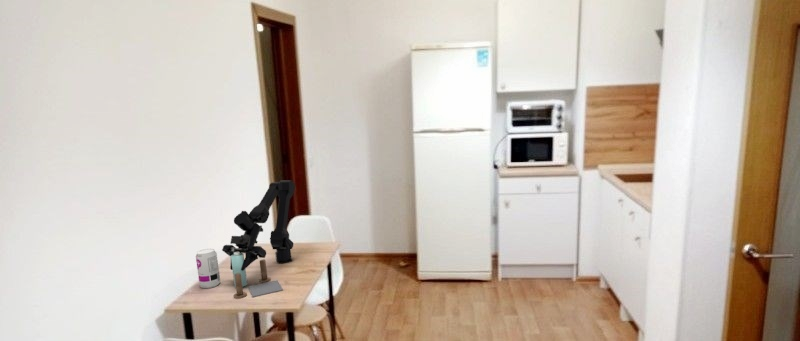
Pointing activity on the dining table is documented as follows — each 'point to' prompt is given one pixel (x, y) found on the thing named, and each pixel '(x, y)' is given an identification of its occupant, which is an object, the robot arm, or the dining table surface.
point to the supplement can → (207, 268)
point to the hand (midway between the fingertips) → (236, 269)
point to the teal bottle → (238, 267)
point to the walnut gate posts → (239, 281)
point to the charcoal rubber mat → (265, 288)
